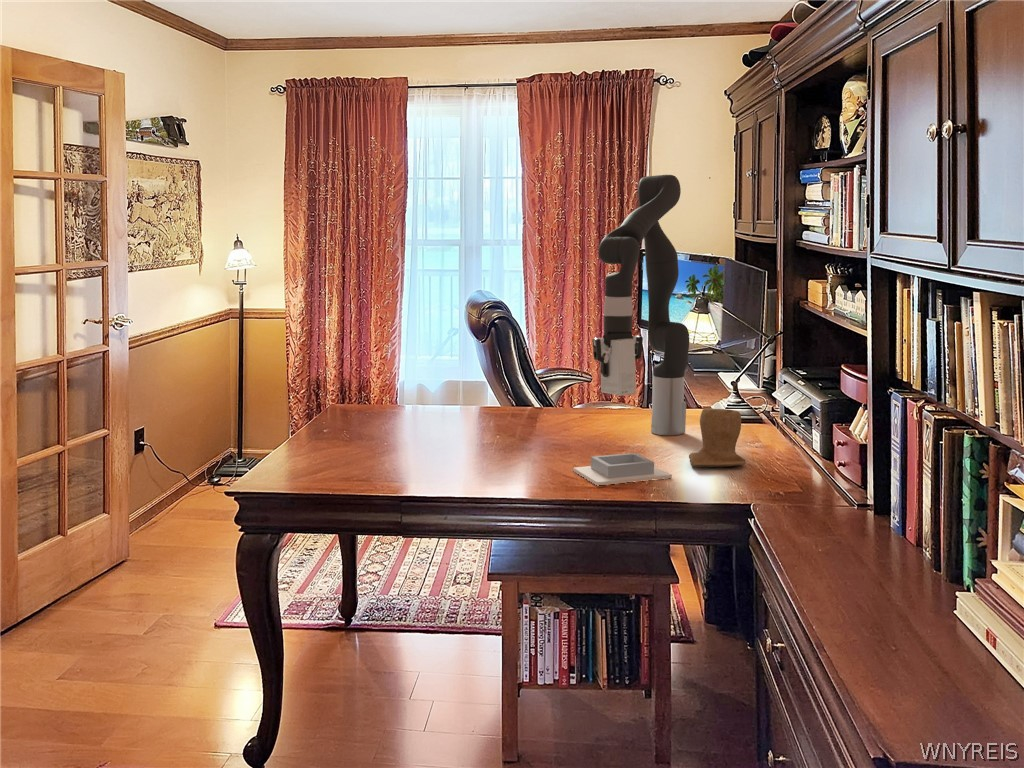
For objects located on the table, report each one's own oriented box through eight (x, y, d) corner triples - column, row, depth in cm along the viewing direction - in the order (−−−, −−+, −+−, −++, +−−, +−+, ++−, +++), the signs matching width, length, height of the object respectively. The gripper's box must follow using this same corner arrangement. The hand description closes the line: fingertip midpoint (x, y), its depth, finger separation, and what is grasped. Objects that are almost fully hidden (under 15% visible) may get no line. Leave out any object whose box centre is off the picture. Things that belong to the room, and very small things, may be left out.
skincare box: (636, 394, 237) (637, 338, 235) (618, 397, 234) (619, 340, 231) (615, 389, 244) (616, 335, 242) (598, 392, 241) (599, 337, 238)
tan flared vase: (734, 458, 237) (736, 403, 235) (751, 470, 226) (753, 412, 223) (678, 460, 235) (680, 404, 233) (692, 471, 224) (695, 413, 221)
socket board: (644, 464, 230) (644, 449, 230) (671, 478, 217) (672, 462, 217) (573, 471, 224) (573, 455, 223) (597, 486, 211) (597, 469, 210)
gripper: (635, 311, 241) (634, 372, 244) (587, 313, 236) (586, 375, 239) (649, 313, 234) (648, 376, 237) (599, 315, 229) (598, 379, 232)
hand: (617, 375), depth 238 cm, fingers closed on skincare box, 6 cm apart
